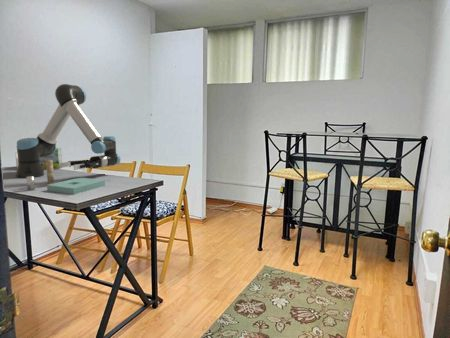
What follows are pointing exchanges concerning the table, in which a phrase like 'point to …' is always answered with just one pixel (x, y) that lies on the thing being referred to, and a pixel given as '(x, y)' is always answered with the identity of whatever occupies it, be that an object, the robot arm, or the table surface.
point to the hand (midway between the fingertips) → (66, 166)
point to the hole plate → (75, 185)
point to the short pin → (30, 183)
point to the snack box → (55, 157)
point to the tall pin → (50, 171)
